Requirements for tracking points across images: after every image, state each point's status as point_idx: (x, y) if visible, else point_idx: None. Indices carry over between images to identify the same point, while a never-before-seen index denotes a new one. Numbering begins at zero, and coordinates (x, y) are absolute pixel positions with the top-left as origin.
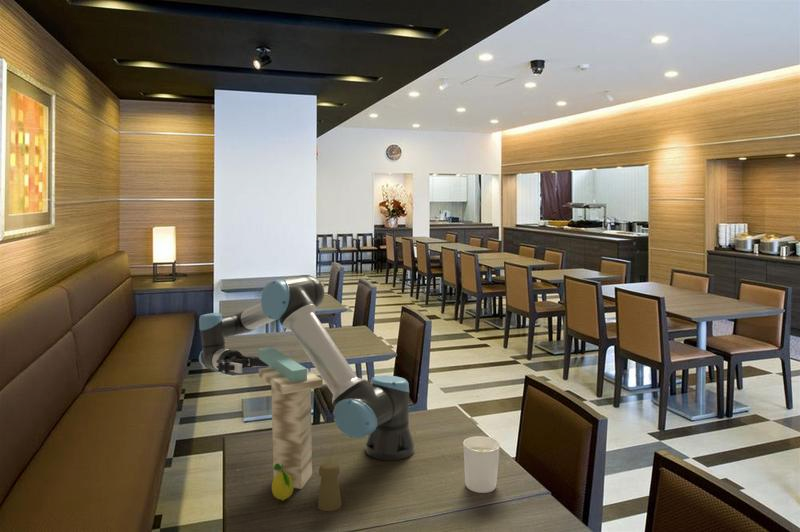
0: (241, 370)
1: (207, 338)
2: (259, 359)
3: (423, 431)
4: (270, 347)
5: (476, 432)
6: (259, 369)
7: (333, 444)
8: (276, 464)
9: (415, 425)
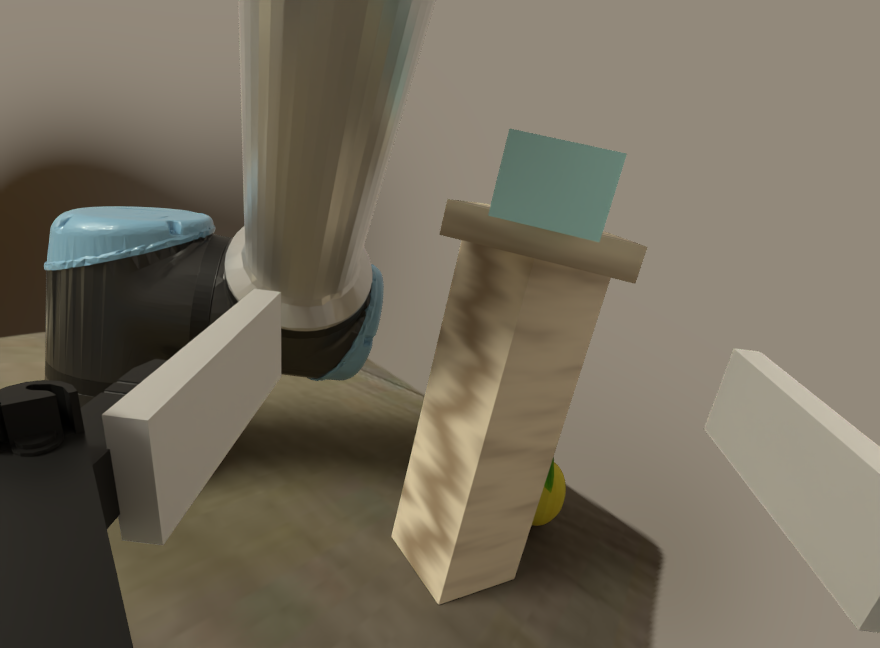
0: (719, 407)
1: None
2: (124, 629)
3: None
4: (524, 133)
5: None
6: (645, 246)
7: (128, 603)
8: (553, 467)
9: None
